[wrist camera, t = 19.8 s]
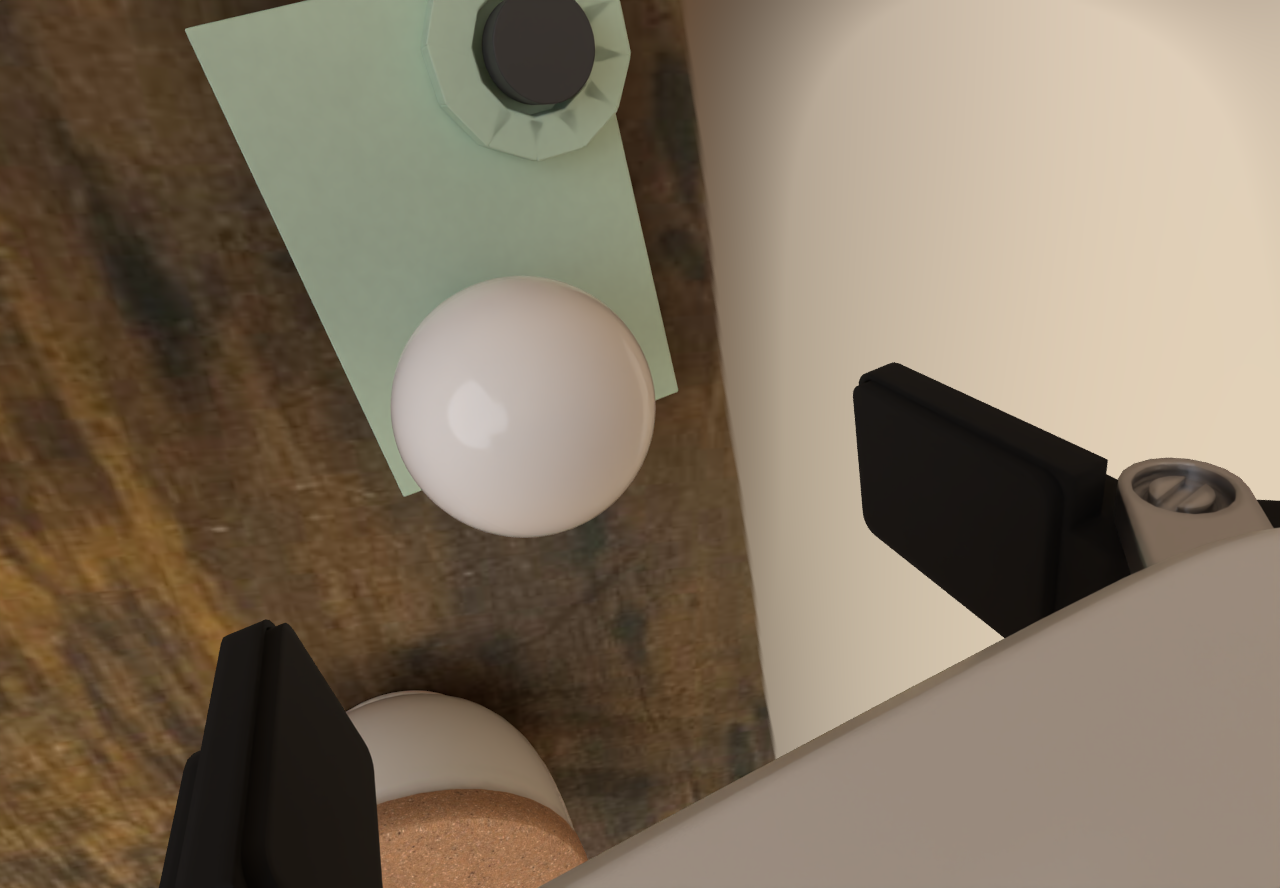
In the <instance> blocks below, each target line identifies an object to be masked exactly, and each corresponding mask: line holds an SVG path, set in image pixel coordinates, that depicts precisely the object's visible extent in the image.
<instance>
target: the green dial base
mask: <svg viewBox="0 0 1280 888" xmlns="http://www.w3.org/2000/svg"><path fill="white" fill-rule="evenodd" d="M502 1H503V0H307V1H302V2H298V3H294V4H289V5H285V6H281V7H276V8H272V9H268V10H263V11H259V12H255V13H250V14H246V15H242V16H237V17H233V18H229V19H224V20H220V21H216V22H211V23H207V24H203V25H199V26H194V27H190V28H186V29H185V32H186V34H187V36H188V38H189V40H190V42H191V45H192V47H193V49H194V51H195V53H196V55H197V57H198V59H199V62H200V64H201V66H202V68H203V70H204V72H205V74H206V77H207V79H208V81H209V83H210V85H211V87H212V89H213V91H214V94H215V96H216V98H217V100H218V102H219V104H220V106H221V109H222V111H223V113H224V115H225V117H226V119H227V121H228V123H229V126H230V128H231V130H232V132H233V134H234V136H235V138H236V140H237V143H238V145H239V147H240V149H241V151H242V153H243V155H244V158H245V160H246V162H247V164H248V166H249V168H250V170H251V172H252V175H253V177H254V179H255V181H256V183H257V185H258V187H259V190H260V192H261V194H262V196H263V198H264V200H265V202H266V204H267V207H268V209H269V211H270V213H271V215H272V217H273V219H274V221H275V224H276V226H277V228H278V230H279V232H280V234H281V236H282V239H283V241H284V243H285V245H286V247H287V249H288V251H289V253H290V256H291V258H292V260H293V262H294V264H295V266H296V268H297V271H298V273H299V275H300V277H301V279H302V281H303V283H304V285H305V288H306V290H307V292H308V294H309V296H310V298H311V300H312V302H313V305H314V307H315V309H316V311H317V313H318V315H319V317H320V320H321V322H322V324H323V326H324V328H325V330H326V332H327V334H328V337H329V339H330V341H331V343H332V345H333V347H334V349H335V352H336V354H337V356H338V358H339V360H340V362H341V364H342V366H343V369H344V371H345V373H346V375H347V377H348V379H349V381H350V383H351V386H352V388H353V390H354V392H355V394H356V396H357V398H358V401H359V403H360V405H361V407H362V409H363V411H364V413H365V415H366V418H367V420H368V422H369V424H370V426H371V428H372V430H373V433H374V435H375V437H376V439H377V441H378V443H379V445H380V447H381V450H382V452H383V454H384V456H385V458H386V460H387V462H388V464H389V467H390V469H391V471H392V473H393V475H394V477H395V479H396V482H397V484H398V486H399V488H400V490H401V492H402V494H403V496H404V497H405V496H408V495H411V494H413V493H416V492H418V491H421V488H420V487H419V486H418V485H417V483H416V482H415V481H414V479H413V478H412V476H411V475H410V473H409V471H408V470H407V468H406V466H405V464H404V462H403V460H402V458H401V456H400V453H399V450H398V448H397V445H396V441H395V438H394V433H393V428H392V422H391V390H392V383H393V378H394V374H395V370H396V367H397V364H398V361H399V358H400V356H401V353H402V351H403V349H404V347H405V345H406V343H407V341H408V340H409V338H410V336H411V335H412V333H413V332H414V330H415V329H416V328H417V326H418V325H419V324H420V323H421V321H422V320H423V319H424V318H425V317H426V316H427V315H428V314H429V313H430V312H431V311H432V310H433V309H434V308H435V307H436V306H438V305H439V304H440V303H441V302H443V301H444V300H446V299H447V298H448V297H450V296H452V295H453V294H455V293H457V292H458V291H460V290H462V289H464V288H466V287H469V286H471V285H473V284H476V283H479V282H482V281H485V280H489V279H493V278H498V277H505V276H516V275H527V276H539V277H546V278H551V279H555V280H559V281H562V282H565V283H568V284H571V285H573V286H575V287H578V288H580V289H582V290H584V291H586V292H588V293H589V294H591V295H593V296H594V297H596V298H597V299H599V300H600V301H601V302H603V303H604V304H605V305H607V306H608V307H609V308H610V309H611V310H612V311H614V312H615V313H616V314H617V315H618V316H619V318H620V319H621V320H622V321H623V322H624V323H625V324H626V326H627V327H628V328H629V329H630V331H631V332H632V334H633V335H634V337H635V338H636V340H637V342H638V343H639V345H640V347H641V349H642V351H643V353H644V355H645V357H646V360H647V362H648V365H649V368H650V371H651V375H652V379H653V384H654V390H655V400H657V399H660V398H663V397H665V396H668V395H670V394H673V393H676V392H678V387H677V383H676V378H675V374H674V369H673V365H672V361H671V356H670V352H669V347H668V343H667V338H666V334H665V330H664V325H663V321H662V316H661V312H660V308H659V303H658V299H657V294H656V290H655V285H654V281H653V277H652V272H651V268H650V263H649V259H648V255H647V250H646V246H645V241H644V237H643V232H642V228H641V224H640V219H639V215H638V210H637V206H636V202H635V197H634V193H633V188H632V184H631V179H630V175H629V171H628V166H627V162H626V157H625V153H624V149H623V144H622V140H621V135H620V131H619V126H618V122H617V118H616V112H617V110H618V107H619V104H620V100H621V96H622V91H623V87H624V83H625V79H626V75H627V70H628V66H629V62H630V55H631V51H630V46H629V42H628V37H627V32H626V27H625V22H624V18H623V13H622V8H621V3H620V0H575V1H576V2H577V3H578V4H579V5H580V7H581V8H582V9H583V11H584V12H585V14H586V16H587V18H588V20H589V22H590V24H591V27H592V31H593V34H594V40H595V59H594V64H593V68H592V71H591V74H590V76H589V78H588V80H587V82H586V83H585V85H584V86H583V87H582V89H581V90H580V91H579V92H578V93H577V94H575V95H574V96H573V97H571V98H570V99H568V100H566V101H563V102H561V103H557V104H546V105H529V104H524V103H520V102H518V101H515V100H513V99H511V98H510V97H508V96H507V95H506V94H504V93H503V92H502V91H501V90H500V89H499V88H498V87H497V86H496V84H495V83H494V82H493V80H492V79H491V77H490V75H489V73H488V71H487V69H486V66H485V63H484V59H483V54H482V35H483V30H484V26H485V24H486V21H487V19H488V17H489V15H490V14H491V12H492V11H493V9H494V8H495V7H496V6H497V5H498V4H499V3H501V2H502Z"/></svg>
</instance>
